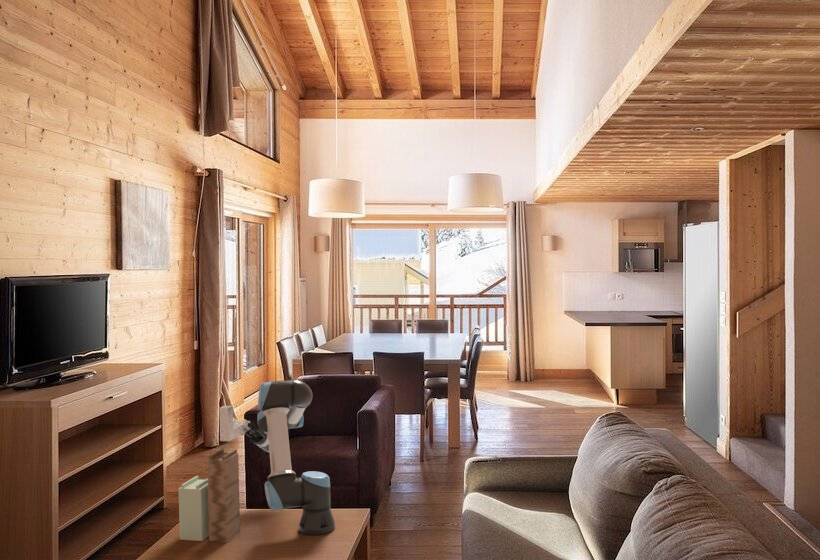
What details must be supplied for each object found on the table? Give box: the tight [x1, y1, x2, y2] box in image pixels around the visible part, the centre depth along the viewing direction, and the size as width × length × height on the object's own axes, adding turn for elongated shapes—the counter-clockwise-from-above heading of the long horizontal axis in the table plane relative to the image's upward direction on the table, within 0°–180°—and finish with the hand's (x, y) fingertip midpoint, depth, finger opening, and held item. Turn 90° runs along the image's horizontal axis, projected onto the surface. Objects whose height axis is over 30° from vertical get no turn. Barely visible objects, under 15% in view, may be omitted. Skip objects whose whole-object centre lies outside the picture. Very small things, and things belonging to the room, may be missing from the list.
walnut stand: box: [207, 448, 241, 543], centre depth 267 cm, size 8×11×34 cm
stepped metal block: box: [218, 405, 251, 442], centre depth 281 cm, size 20×4×14 cm, turn 168°
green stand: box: [178, 475, 209, 542], centre depth 270 cm, size 10×12×22 cm
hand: (239, 422), depth 285 cm, fingers closed on stepped metal block, 4 cm apart
